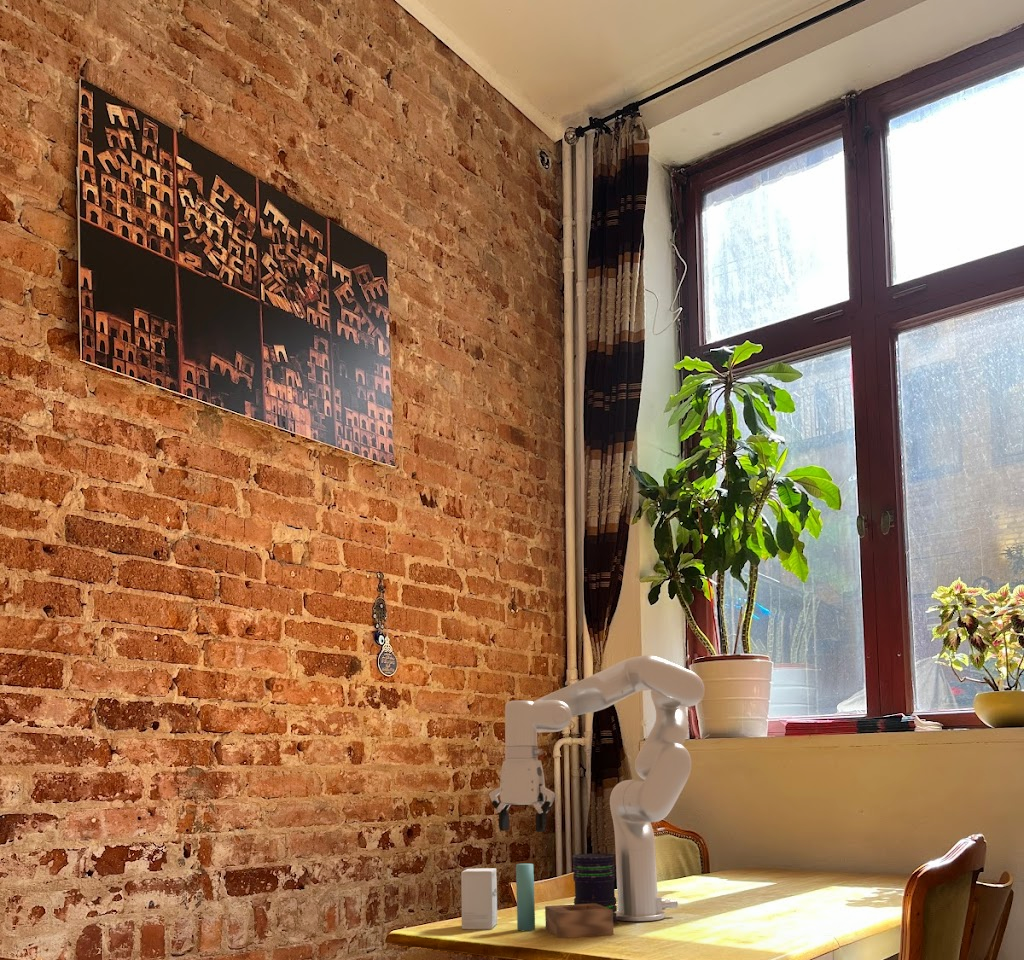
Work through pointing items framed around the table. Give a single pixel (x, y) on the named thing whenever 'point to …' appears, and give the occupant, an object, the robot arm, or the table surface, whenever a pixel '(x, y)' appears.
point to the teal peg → (525, 897)
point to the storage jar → (595, 880)
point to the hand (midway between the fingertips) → (522, 830)
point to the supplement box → (479, 898)
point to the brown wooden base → (579, 920)
